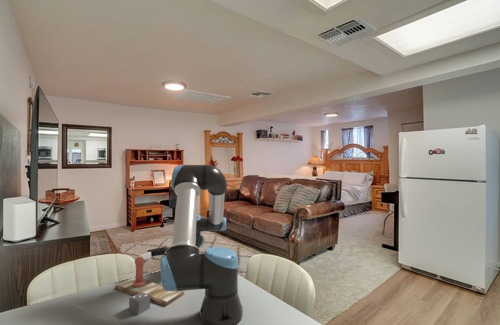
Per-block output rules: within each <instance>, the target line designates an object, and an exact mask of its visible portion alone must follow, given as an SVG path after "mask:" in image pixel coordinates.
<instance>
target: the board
mask: <svg viewBox="0 0 500 325" xmlns="http://www.w3.org/2000/svg"><path fill="white" fill-rule="evenodd" d="M135 280H136V276H135V277H131V278H130V279H128V280H125V281H122V282H121V283H119V284H117V285H115V286H114V290H117V291H120V292H123V293H127V294H129V295H132V296H134V295H136V294H138V293H140V292H143V293H146V294H149V295H150V302H152V303H154V304H158V305H161V306H163V307H167V306H169V305H170V304H172V303H174V302H175V301H176V300H178V299H180V298H181V297H183V296H184V295H185V290H184V291H178V292H176V291H165V290H164V289H163V287H162V284H160V283H157V282H154V281H150V280H147V279H145V285H144V286H142V287H139V288H135V287H133V282H134V281H135Z"/></svg>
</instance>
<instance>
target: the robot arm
mask: <svg viewBox="0 0 500 325" xmlns="http://www.w3.org/2000/svg"><path fill="white" fill-rule="evenodd" d="M170 186H171V190H172V191H174V193H175V195H176V204H175V213H174V214H175V215H174V220H173V221H174V224H173V233H172V240H171V246H169V247H168V246H166V245H165V246H162V247H157V248H154V249H153V248H151V249H148V250H147V252H145V253H142V254H140V255H138V257H143V258H144V261H146V260H148V259H151V258H152V257H156V256H158V257H159V256H161V257H160V261H159V267H160V270H159V271H160V281H161V285H162V287H163V289H164V290H165V291H176V292H178V291H184V292H185V291H195V290H204V297H203V301H202V303H201V307H200V310H199V321H200V320H201V321H200V322H201V324H203V325H235V324H236V323H237V324H239V323H240V322H241V320H242V319H243V317H244V316H243V312H244V311H243V310H244V309H243V305H242V303H241V299H240V295H239V292H238V290H239V289H238V282H239V281H238V276H239V274H238V268H239V264H238V263H239V262H238V254H237V253H236V252H235V251H234V250H232V249H230V248H227V247H223V246H222V247H221V246H212V247H207V248H206V249H205V250H204V252H203V253H200V249H199V248H202V246H204V244H205V238H204V236H203V235H202V232H221V231H222V232H223V231H226V230H227V218H226V217H225V216H224V213H225V212H224V211H225V210H224V209H225V196H226V195H225V193H226V192H227V190H228V182H227V179H226V177H225V175H224V173H223V172H222V171H221V170H220V169H219V168H218V167H216V166H215V165H211V164H180V165H179V164H178V165H175V167H174V168H173V170H172V173H171V182H170ZM202 191H207V192H208V194H209V217H201V215H200V214H199V213H198V196H200V195H201V194H202ZM239 321H240V322H239ZM237 324H236V325H237Z"/></svg>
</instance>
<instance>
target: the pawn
mask: <svg viewBox="0 0 500 325" xmlns="http://www.w3.org/2000/svg"><path fill="white" fill-rule="evenodd" d="M144 262H145V260H144V258H143V257H139V256H137V257H135V259H134V265H135V277H136V280H135V281H134V282H133V287H135V288H139V287H142V286H144V285H145V280H146V279H144Z"/></svg>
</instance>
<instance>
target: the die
mask: <svg viewBox="0 0 500 325" xmlns="http://www.w3.org/2000/svg"><path fill="white" fill-rule="evenodd" d="M128 300H129V302H128V311H129V312H130V313H132V314H135V315H137V316H139V315H141V314H143V313H144V312H146V311H148V310H149V309H150V308H151V301H150V295H149V294H146V293H143V292H140V293H138V294H136V295H132V296H131V297H128Z"/></svg>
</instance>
